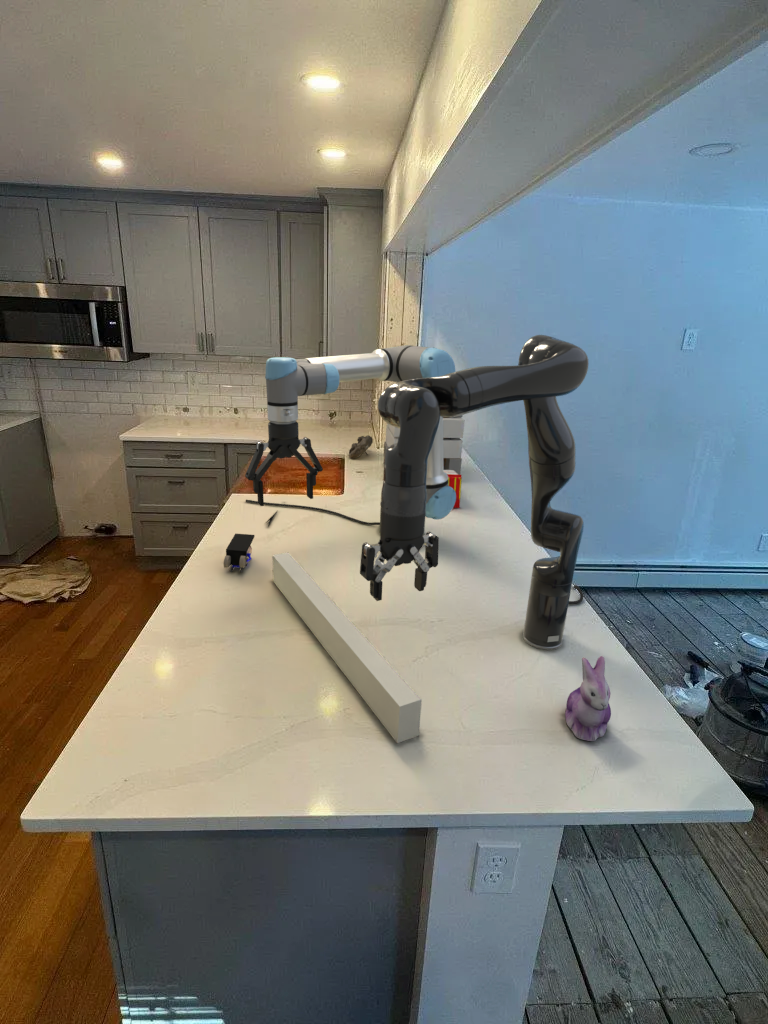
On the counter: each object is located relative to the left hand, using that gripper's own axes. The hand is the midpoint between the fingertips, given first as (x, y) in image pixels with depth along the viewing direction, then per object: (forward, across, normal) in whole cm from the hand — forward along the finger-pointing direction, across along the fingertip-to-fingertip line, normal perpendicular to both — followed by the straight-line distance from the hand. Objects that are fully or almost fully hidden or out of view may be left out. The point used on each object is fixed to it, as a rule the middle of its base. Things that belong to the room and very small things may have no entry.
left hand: (285, 501), depth 150 cm
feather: (+26, +15, +57) cm, 65 cm away
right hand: (-2, -1, -60) cm, 61 cm away
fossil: (+28, +86, +128) cm, 157 cm away
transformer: (+28, +97, +87) cm, 133 cm away
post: (+25, -1, -30) cm, 40 cm away
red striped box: (+28, +87, +51) cm, 104 cm away
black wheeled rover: (+26, -8, +19) cm, 33 cm away
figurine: (+26, +33, -78) cm, 89 cm away
